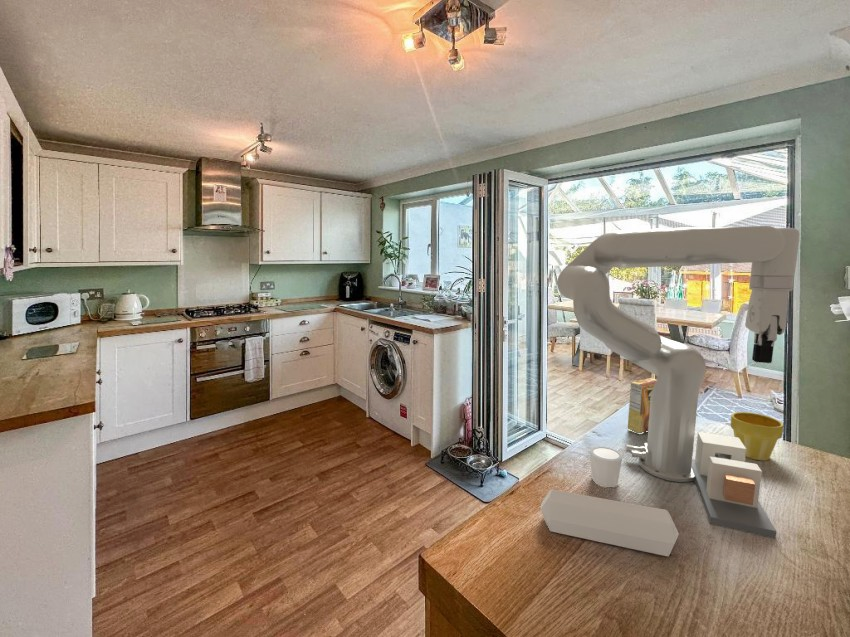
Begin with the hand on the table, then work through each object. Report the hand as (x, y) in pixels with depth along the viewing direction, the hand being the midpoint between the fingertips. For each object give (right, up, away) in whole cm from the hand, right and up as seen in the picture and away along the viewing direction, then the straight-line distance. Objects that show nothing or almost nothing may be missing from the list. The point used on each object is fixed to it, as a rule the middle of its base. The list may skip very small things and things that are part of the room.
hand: (761, 361), depth 92 cm
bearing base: (-13, -29, -7) cm, 32 cm away
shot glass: (-37, -28, 0) cm, 47 cm away
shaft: (-13, -25, -6) cm, 29 cm away
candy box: (-13, -24, +26) cm, 38 cm away
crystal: (-45, -31, -17) cm, 57 cm away
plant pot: (+7, -26, +11) cm, 29 cm away
